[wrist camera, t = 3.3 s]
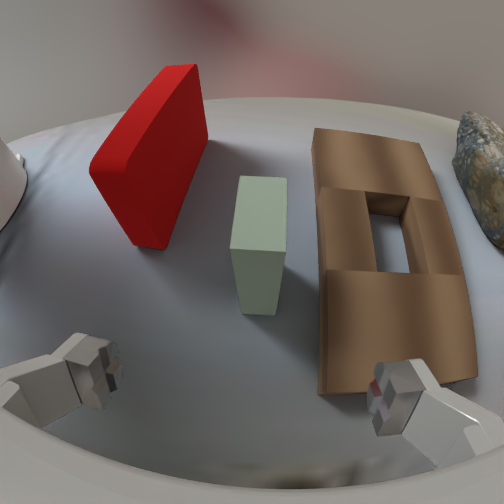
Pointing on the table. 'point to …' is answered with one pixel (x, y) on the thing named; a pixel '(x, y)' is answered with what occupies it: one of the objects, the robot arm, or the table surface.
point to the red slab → (153, 156)
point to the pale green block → (259, 242)
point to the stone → (482, 171)
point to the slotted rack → (385, 283)
